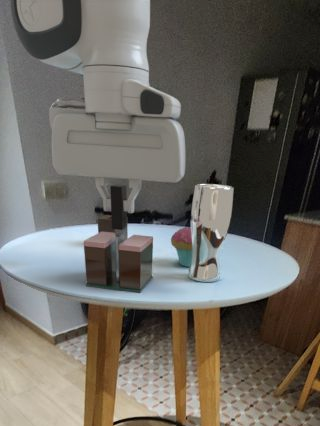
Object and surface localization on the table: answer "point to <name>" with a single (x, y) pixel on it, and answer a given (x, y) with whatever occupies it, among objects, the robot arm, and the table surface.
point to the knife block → (108, 226)
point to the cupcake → (183, 245)
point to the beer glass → (209, 229)
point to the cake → (128, 262)
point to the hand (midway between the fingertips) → (119, 211)
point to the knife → (118, 219)
